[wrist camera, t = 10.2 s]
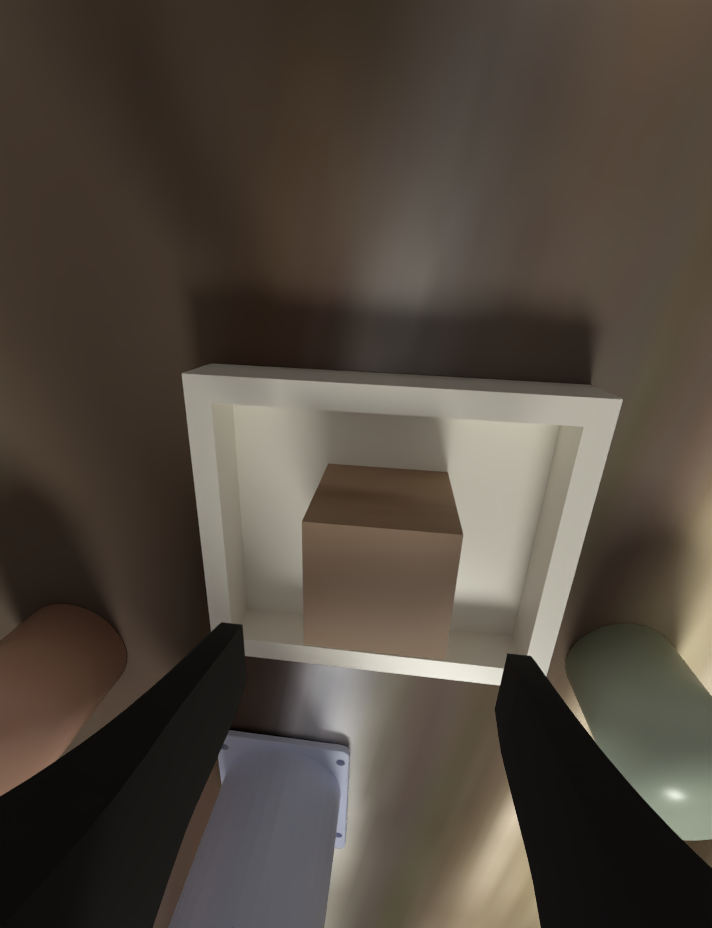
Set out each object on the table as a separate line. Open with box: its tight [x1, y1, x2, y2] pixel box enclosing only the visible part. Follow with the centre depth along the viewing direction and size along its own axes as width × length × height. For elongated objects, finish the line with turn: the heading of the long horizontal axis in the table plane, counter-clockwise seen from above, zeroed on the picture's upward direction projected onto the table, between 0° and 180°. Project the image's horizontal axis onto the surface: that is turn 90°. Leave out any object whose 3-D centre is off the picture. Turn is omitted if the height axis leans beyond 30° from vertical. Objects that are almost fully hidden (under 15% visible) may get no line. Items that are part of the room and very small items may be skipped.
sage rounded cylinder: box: [565, 624, 712, 840], centre depth 18 cm, size 5×5×6 cm
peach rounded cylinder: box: [0, 604, 127, 796], centre depth 20 cm, size 6×6×8 cm
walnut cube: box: [302, 464, 463, 660], centre depth 16 cm, size 5×5×5 cm
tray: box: [182, 363, 623, 685], centre depth 18 cm, size 13×15×2 cm
